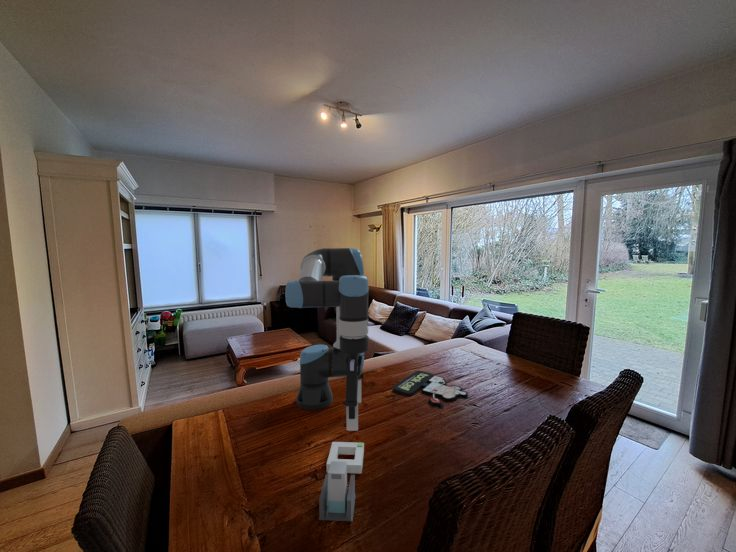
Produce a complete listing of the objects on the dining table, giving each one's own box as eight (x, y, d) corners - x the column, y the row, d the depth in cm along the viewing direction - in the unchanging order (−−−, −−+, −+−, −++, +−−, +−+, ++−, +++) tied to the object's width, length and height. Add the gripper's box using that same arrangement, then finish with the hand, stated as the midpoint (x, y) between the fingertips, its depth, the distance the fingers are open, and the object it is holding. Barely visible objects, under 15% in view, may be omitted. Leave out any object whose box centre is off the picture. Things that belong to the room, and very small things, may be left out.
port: (326, 474, 84) (326, 463, 84) (332, 450, 94) (332, 440, 94) (361, 475, 84) (361, 464, 83) (364, 451, 94) (363, 441, 93)
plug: (328, 512, 71) (327, 473, 70) (331, 498, 75) (331, 461, 74) (345, 513, 71) (344, 473, 70) (347, 499, 75) (346, 461, 74)
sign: (417, 369, 156) (475, 385, 138) (417, 373, 156) (475, 388, 138) (389, 388, 135) (453, 409, 116) (389, 392, 135) (453, 413, 117)
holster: (318, 521, 69) (318, 499, 69) (325, 494, 77) (324, 473, 77) (352, 523, 69) (352, 500, 68) (355, 495, 77) (355, 475, 76)
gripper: (366, 350, 64) (367, 444, 65) (369, 324, 89) (370, 393, 90) (332, 350, 64) (333, 444, 66) (345, 324, 89) (345, 392, 90)
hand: (354, 414), depth 78 cm, fingers open, 13 cm apart
